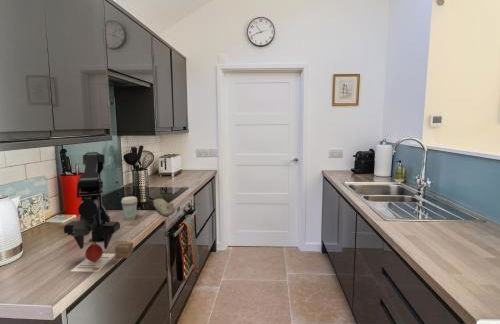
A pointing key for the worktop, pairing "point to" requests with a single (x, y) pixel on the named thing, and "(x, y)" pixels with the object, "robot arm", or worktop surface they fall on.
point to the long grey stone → (163, 207)
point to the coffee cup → (129, 207)
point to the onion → (94, 252)
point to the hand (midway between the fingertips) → (93, 248)
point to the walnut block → (124, 249)
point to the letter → (93, 264)
